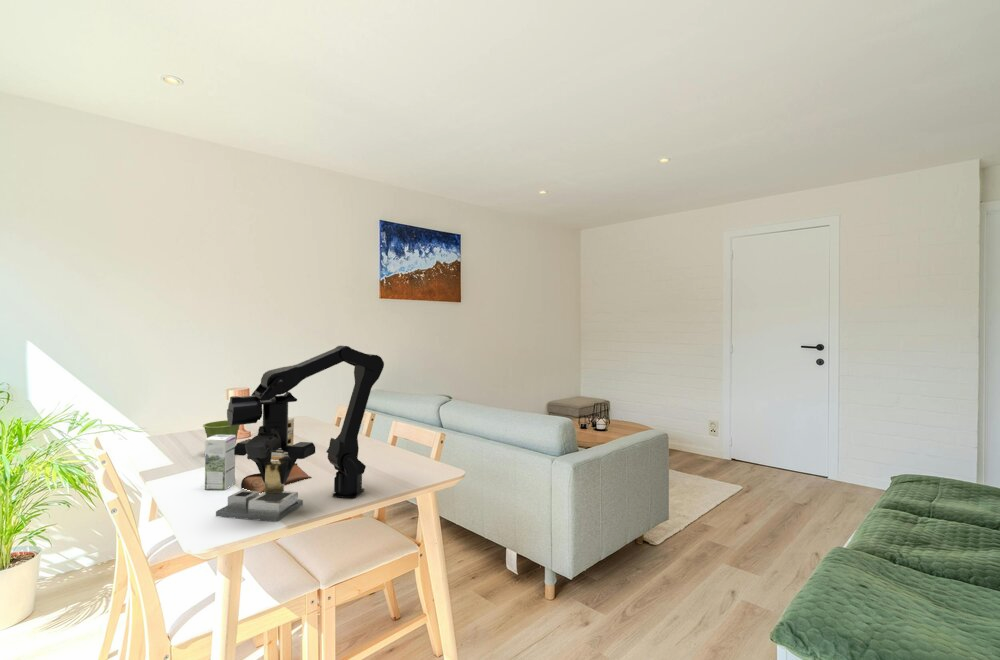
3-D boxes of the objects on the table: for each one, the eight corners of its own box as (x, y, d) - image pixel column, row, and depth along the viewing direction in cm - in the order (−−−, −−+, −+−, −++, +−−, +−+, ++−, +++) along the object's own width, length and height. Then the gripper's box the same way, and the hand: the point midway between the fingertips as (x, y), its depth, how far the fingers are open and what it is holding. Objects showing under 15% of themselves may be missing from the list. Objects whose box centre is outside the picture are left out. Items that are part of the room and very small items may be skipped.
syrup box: (235, 483, 137) (236, 433, 137) (224, 490, 131) (225, 438, 131) (215, 483, 136) (216, 433, 136) (203, 490, 130) (204, 438, 130)
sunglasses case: (258, 494, 128) (251, 471, 130) (245, 502, 131) (238, 480, 133) (314, 477, 144) (307, 456, 145) (300, 485, 147) (294, 465, 148)
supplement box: (282, 459, 161) (283, 421, 161) (268, 459, 161) (269, 421, 161) (294, 453, 170) (294, 417, 169) (281, 453, 170) (281, 417, 170)
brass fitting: (287, 488, 119) (288, 461, 119) (277, 494, 114) (277, 466, 114) (271, 487, 119) (272, 460, 119) (260, 493, 115) (261, 465, 115)
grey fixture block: (302, 504, 122) (303, 490, 122) (276, 521, 111) (276, 506, 111) (246, 499, 124) (247, 486, 124) (215, 516, 113) (216, 501, 113)
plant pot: (225, 449, 173) (226, 418, 173) (248, 453, 169) (249, 421, 169) (194, 457, 162) (194, 424, 162) (217, 461, 158) (218, 428, 158)
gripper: (217, 425, 110) (217, 491, 110) (291, 429, 108) (290, 497, 108) (249, 416, 121) (248, 476, 121) (316, 420, 119) (316, 481, 119)
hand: (274, 483), depth 117 cm, fingers closed on brass fitting, 4 cm apart
